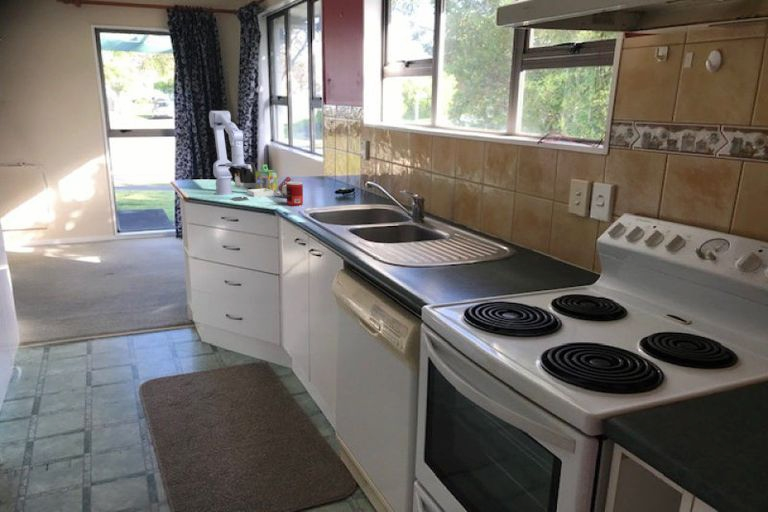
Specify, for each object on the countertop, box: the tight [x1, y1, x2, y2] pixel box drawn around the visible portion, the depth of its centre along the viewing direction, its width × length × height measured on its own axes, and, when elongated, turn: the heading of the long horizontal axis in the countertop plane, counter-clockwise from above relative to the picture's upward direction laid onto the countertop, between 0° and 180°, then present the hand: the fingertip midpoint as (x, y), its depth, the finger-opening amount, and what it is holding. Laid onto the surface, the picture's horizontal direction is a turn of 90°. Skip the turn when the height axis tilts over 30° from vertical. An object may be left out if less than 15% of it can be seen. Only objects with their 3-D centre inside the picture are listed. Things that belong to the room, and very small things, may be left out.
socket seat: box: [229, 196, 250, 202], centre depth 294 cm, size 8×8×1 cm
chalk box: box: [255, 164, 279, 192], centre depth 326 cm, size 9×9×15 cm
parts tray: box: [246, 188, 275, 198], centre depth 310 cm, size 11×11×3 cm
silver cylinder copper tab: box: [234, 172, 243, 188], centre depth 291 cm, size 4×4×6 cm
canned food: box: [286, 181, 304, 207], centre depth 282 cm, size 8×8×11 cm
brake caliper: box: [276, 176, 295, 199], centre depth 304 cm, size 11×11×12 cm
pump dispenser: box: [242, 161, 257, 189], centre depth 336 cm, size 10×10×15 cm
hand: (239, 182), depth 292 cm, fingers closed on silver cylinder copper tab, 4 cm apart
